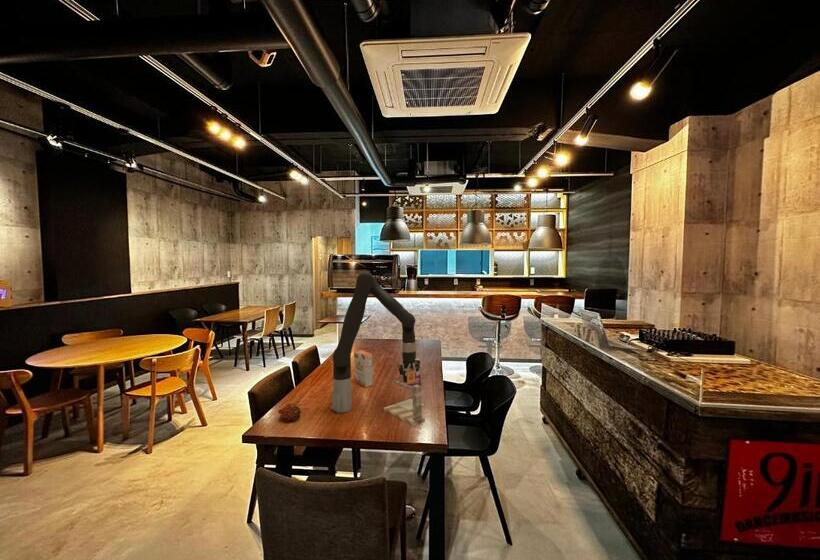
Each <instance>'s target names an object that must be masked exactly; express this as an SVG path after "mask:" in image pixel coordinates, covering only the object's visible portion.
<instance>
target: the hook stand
mask: <svg viewBox="0 0 820 560" xmlns="http://www.w3.org/2000/svg"><path fill="white" fill-rule="evenodd" d="M393 383H394V384H397V385H398V386H401V387H404V388H407V389H410V390H411V391H412V399H413V410H412V411H408V410H406V409H404V408H402V407H399V406H397V405H396V403H393V404H391V405H388V406H385V407H383V411H384V412H385V413H388V414H390V415H392V416H394V417H396V418H397V419H400V420H402V421H403V422H404V423H407V424H409V425H410V426H413V427H415V426H417V425H420V424H423V423H425V421H426V420H425V419H426V418H424V417H422V415H423V414H422V410H423V409H422V407H423V406H422V404H423V403H422V401H423V400H422V385H414V386H409V385H407V384H404V383H403V382H401V381H398V380H397V379H394V380H393Z"/></svg>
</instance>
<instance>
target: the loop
mask: <svg viewBox="0 0 820 560" xmlns="http://www.w3.org/2000/svg"><path fill="white" fill-rule="evenodd" d="M409 374H410V379H409ZM406 376H407V382H406V384H409V383H412V382H415V370H412V369H411V370H409V371H408V372H407V375H406ZM404 383H405V382H404Z"/></svg>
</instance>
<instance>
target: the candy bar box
mask: <svg viewBox="0 0 820 560" xmlns="http://www.w3.org/2000/svg"><path fill="white" fill-rule="evenodd" d="M415 360H420V358H417V357H416V359H415ZM402 362H403V359H401V363H402ZM403 367H404V366H403ZM405 369H406V368H405ZM409 370H411V369H409ZM401 376H402V378H403V375H401ZM409 379H410V374H409ZM421 380H422V379H421V364H420V365H419V371H417V372H416V379H415V382H412V383H409V384H407V385H409V386H412V387H413V386H414V385H420V386H422V385H421V384H422V383H421V382H422V381H421ZM402 383H404V381H403V380H402ZM404 384H406V383H404Z"/></svg>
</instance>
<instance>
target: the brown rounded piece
mask: <svg viewBox="0 0 820 560" xmlns="http://www.w3.org/2000/svg"><path fill="white" fill-rule="evenodd" d="M284 406H285V407H282V408H281V409H279V410H278V412H277V413H278V414H280V415H279V419H285V422H289V421H295V420H296V419H298V418H300V417H301V413H302V411H301V408H300V406H298V405H297V404H295V403H287V404H286V405H284Z"/></svg>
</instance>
